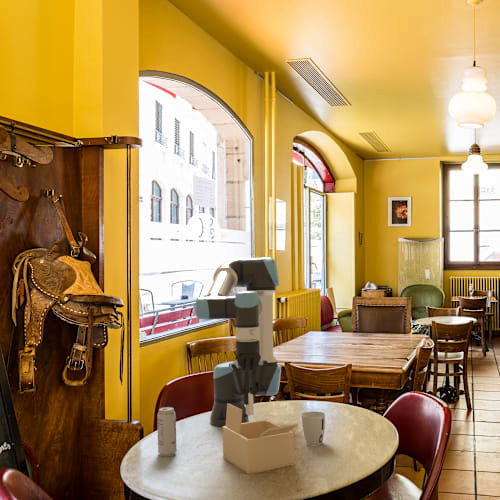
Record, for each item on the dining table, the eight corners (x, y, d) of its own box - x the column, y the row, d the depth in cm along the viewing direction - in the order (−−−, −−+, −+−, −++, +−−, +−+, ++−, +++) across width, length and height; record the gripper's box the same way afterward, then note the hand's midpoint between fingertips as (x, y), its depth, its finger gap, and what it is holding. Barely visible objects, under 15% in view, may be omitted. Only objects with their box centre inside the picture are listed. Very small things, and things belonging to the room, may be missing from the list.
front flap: (268, 428, 174) (268, 430, 174) (297, 423, 179) (298, 425, 179) (258, 435, 180) (259, 437, 180) (287, 430, 184) (287, 431, 184)
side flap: (228, 403, 193) (227, 403, 192) (242, 409, 184) (241, 409, 184) (226, 425, 192) (225, 425, 192) (240, 433, 183) (239, 433, 183)
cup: (325, 447, 201) (324, 417, 201) (301, 446, 203) (300, 416, 203) (326, 440, 209) (326, 411, 209) (303, 439, 211) (302, 411, 211)
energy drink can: (177, 456, 196) (175, 410, 196) (158, 457, 195) (157, 411, 195) (176, 450, 202) (175, 406, 202) (158, 452, 201) (157, 407, 201)
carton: (222, 457, 194) (221, 426, 194) (267, 448, 202) (266, 418, 202) (248, 474, 177) (247, 440, 178) (296, 464, 185) (295, 431, 185)
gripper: (234, 343, 185) (236, 419, 184) (271, 339, 191) (273, 414, 190) (224, 340, 191) (226, 414, 191) (260, 337, 197) (262, 409, 197)
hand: (249, 414), depth 190 cm, fingers closed
